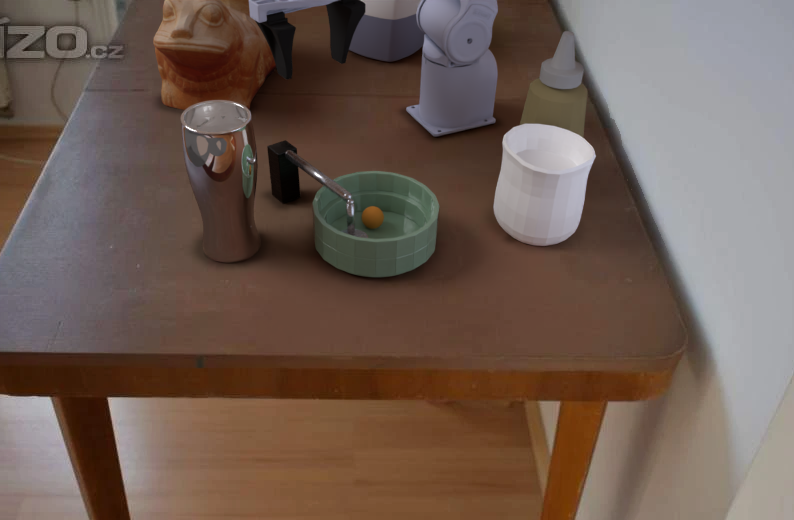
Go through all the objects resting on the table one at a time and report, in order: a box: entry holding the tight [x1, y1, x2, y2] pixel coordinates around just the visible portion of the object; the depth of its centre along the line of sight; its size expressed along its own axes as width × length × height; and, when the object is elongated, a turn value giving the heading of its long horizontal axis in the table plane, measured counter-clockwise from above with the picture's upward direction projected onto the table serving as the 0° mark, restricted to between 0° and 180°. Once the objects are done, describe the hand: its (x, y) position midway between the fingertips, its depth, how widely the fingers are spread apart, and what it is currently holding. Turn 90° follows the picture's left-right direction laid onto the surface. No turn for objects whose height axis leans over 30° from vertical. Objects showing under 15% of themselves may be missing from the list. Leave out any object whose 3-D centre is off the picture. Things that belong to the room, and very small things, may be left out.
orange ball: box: [362, 206, 384, 229], centre depth 90 cm, size 2×2×2 cm
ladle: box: [266, 139, 368, 238], centre depth 90 cm, size 16×4×6 cm, turn 38°
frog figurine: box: [152, 0, 277, 111], centre depth 111 cm, size 14×26×15 cm, turn 171°
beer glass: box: [180, 100, 261, 264], centre depth 84 cm, size 7×7×15 cm
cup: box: [492, 124, 597, 247], centre depth 91 cm, size 10×10×10 cm
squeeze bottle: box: [519, 30, 589, 138], centre depth 95 cm, size 8×8×18 cm
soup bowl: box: [312, 170, 440, 278], centre depth 88 cm, size 13×13×5 cm
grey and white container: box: [349, 0, 424, 63], centre depth 124 cm, size 15×15×11 cm
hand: (312, 68), depth 99 cm, fingers open, 7 cm apart
